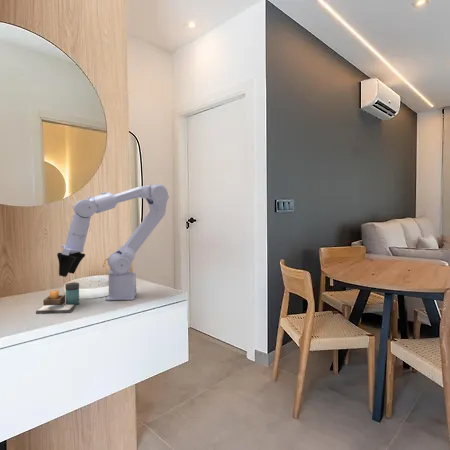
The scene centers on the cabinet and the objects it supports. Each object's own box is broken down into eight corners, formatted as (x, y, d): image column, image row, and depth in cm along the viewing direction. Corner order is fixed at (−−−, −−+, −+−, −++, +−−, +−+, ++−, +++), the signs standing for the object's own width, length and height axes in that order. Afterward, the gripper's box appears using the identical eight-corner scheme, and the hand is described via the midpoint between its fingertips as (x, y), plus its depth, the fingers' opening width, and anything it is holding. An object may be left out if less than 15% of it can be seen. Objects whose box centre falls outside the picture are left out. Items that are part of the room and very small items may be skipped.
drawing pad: (75, 307, 106) (75, 304, 106) (70, 312, 101) (70, 309, 101) (42, 308, 105) (42, 304, 105) (35, 313, 100) (35, 310, 100)
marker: (81, 302, 111) (80, 282, 110) (77, 306, 107) (76, 285, 106) (68, 302, 110) (67, 282, 110) (64, 306, 106) (63, 285, 106)
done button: (60, 299, 109) (60, 290, 109) (57, 301, 107) (57, 292, 106) (51, 299, 109) (51, 290, 109) (48, 301, 106) (48, 293, 106)
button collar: (65, 302, 111) (65, 295, 111) (59, 307, 106) (59, 299, 106) (49, 302, 110) (49, 295, 110) (43, 307, 105) (43, 300, 105)
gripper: (72, 231, 115) (62, 269, 115) (56, 232, 101) (45, 274, 100) (92, 236, 116) (82, 273, 116) (80, 237, 102) (68, 279, 101)
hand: (66, 274), depth 108 cm, fingers open, 7 cm apart
